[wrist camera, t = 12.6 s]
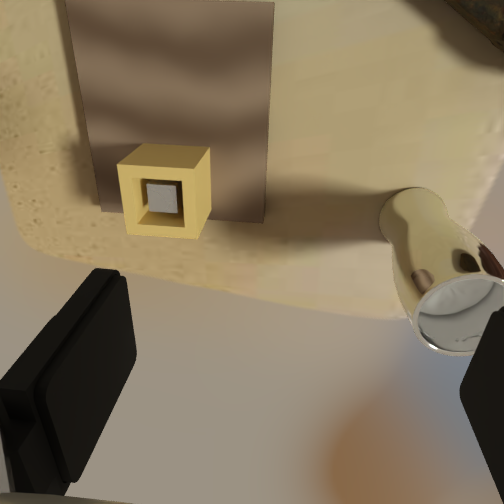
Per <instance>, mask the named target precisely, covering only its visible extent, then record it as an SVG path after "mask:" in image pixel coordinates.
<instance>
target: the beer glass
mask: <svg viewBox="0 0 504 504" xmlns="http://www.w3.org/2000/svg"><path fill="white" fill-rule="evenodd" d="M379 226H380V230H381V232H382V234H383V236H384V237H385V238H386V239H387V241H388V242H389V243H390V244H391V246H392V269H393V277H394V283H395V287H396V290H397V294H398V297H399V299H400V302H401V304H402V307H403V309H404V311H405V313H406V315H407V317H408V319H409V321H410V323H411V325H412V327H413V330H414V333H415V335H416V336H417V338H418V339H419V341H420V342H421V343H422V344H423V345H425V346H426V347H428V348H429V349H431V350H433V351H435V352H437V353H441V354H445V355H449V356H470V355H474V353H475V350H476V348H477V346H478V344H479V341H480V339H481V337H482V334H483V332H484V330H485V327H486V325H487V323H488V320H489V318H490V316H491V314H492V313H493V312H494V311H499V309H500V308H501V307H503V306H504V269H503V267H502V265H501V264H500V263H499V262H498V260H497V259H496V257H495V256H494V254H493V253H492V252H491V251H490V250H489V249H488V248H487V247H486V246H485V244H484V243H483V242H482V241H481V240H479V239H478V238H477V237H475V236H474V235H473V234H472V233H471V232H469V231H468V230H467V229H465V228H464V227H462V226H461V225H459V224H458V223H456V222H455V221H453V220H452V219H451V218H450V217H449V215H448V211H447V208H446V205H445V203H444V201H443V200H442V198H441V197H440V196H439V195H438V194H436V193H435V192H433V191H431V190H428V189H424V188H410V189H406V190H403V191H400V192H398V193H397V194H395V195H393V196H392V197H391V198H390V199H389V200H388V201H387V202H386V203H385V205H384V206H383V208H382V210H381V212H380V216H379Z"/></svg>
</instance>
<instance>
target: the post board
mask: <svg viewBox="0 0 504 504" xmlns="http://www.w3.org/2000/svg"><path fill="white" fill-rule="evenodd" d="M65 4H66V10H67V15H68V21H69V27H70V33H71V38H72V44H73V50H74V56H75V62H76V67H77V73H78V79H79V85H80V90H81V96H82V102H83V108H84V113H85V119H86V125H87V131H88V137H89V142H90V148H91V154H92V160H93V165H94V171H95V177H96V183H97V189H98V194H99V200H100V206H101V212H114V213H124V211H123V204H122V197H121V190H120V183H119V176H118V169H117V164H118V163H119V162H120V161H122V160H123V159H124V158H125V157H127V156H128V155H129V154H130V153H132V152H133V151H134V150H135V149H137V148H138V147H139V146H141V145H142V144H143V143H147V144H165V145H182V146H200V147H210V175H211V212H210V214H209V216H208V218H207V219H211V220H224V221H238V222H252V223H263V221H264V213H265V192H266V171H267V150H268V129H269V108H270V87H271V66H272V45H273V24H274V4H275V3H274V2H247V1H214V0H65ZM146 185H147V194H148V203H149V211H153V212H166V213H178V212H179V210H180V209H181V207H182V206H183V191H182V181H176V180H161V179H151V180H150V181H149V182H148V183H147V184H146Z"/></svg>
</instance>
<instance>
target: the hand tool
mask: <svg viewBox="0 0 504 504" xmlns="http://www.w3.org/2000/svg"><path fill="white" fill-rule="evenodd" d="M444 1H445V2H447V3H448V4H449V5H450V6H451V7H453V8H454V9H455V10H456V11H457V12H459V13H460V14H461V15H462V16H463V17H464V18H465V19H466V20H467V21H468V22H470V23H471V24H472V25H473V26H474V27H476V28H477V29H478V30H479V31H480V32H481V33H482V34H484V35H485V36H486V37H487V38H488V39H490V41H491V42H492V44H493V45H494V46H496V47H497V48H498V49H500V50H501V51H502V52H504V0H444Z"/></svg>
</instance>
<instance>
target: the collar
mask: <svg viewBox="0 0 504 504" xmlns="http://www.w3.org/2000/svg"><path fill="white" fill-rule="evenodd" d="M117 169H118V176H119V183H120V190H121V197H122V204H123V211H124V218H125V224H126V231H127V234H133V235H146V236H160V237H173V238H187V239H198V237H199V235H200V233H201V231H202V229H203V226H204V224H205V222H206V220H207V218H208V216H209V214H210V212H211V175H210V147H200V146H182V145H165V144H147V143H143V144H142V145H141V146H139V147H138V148H137V149H135V150H134V151H133V152H132V153H130V154H129V155H128V156H127V157H125V158H124V159H123V160H122V161H120V162H119V163H118V164H117ZM151 179H161V180H176V181H182V191H183V206H182V207H181V209H180V210H179V212H178V213H166V212H153V211H149V203H148V194H147V185H146V184H147V183H148V182H149V181H150V180H151Z"/></svg>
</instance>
